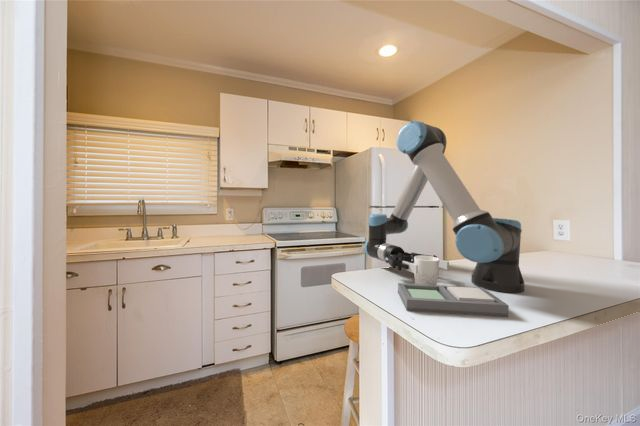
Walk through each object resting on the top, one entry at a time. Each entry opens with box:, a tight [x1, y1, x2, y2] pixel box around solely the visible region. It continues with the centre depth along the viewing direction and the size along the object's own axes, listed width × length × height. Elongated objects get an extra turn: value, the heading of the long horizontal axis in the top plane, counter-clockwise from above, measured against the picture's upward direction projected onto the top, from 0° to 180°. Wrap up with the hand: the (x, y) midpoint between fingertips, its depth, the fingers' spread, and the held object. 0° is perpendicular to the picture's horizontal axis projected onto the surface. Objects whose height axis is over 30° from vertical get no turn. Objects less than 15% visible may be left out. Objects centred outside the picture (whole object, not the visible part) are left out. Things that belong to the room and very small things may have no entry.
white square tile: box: [446, 285, 495, 302], centre depth 73 cm, size 9×9×1 cm
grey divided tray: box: [397, 282, 509, 318], centre depth 73 cm, size 25×13×3 cm, turn 83°
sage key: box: [407, 289, 444, 299], centre depth 74 cm, size 9×9×1 cm
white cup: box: [413, 254, 440, 285], centre depth 86 cm, size 8×8×10 cm
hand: (433, 267), depth 85 cm, fingers open, 13 cm apart
